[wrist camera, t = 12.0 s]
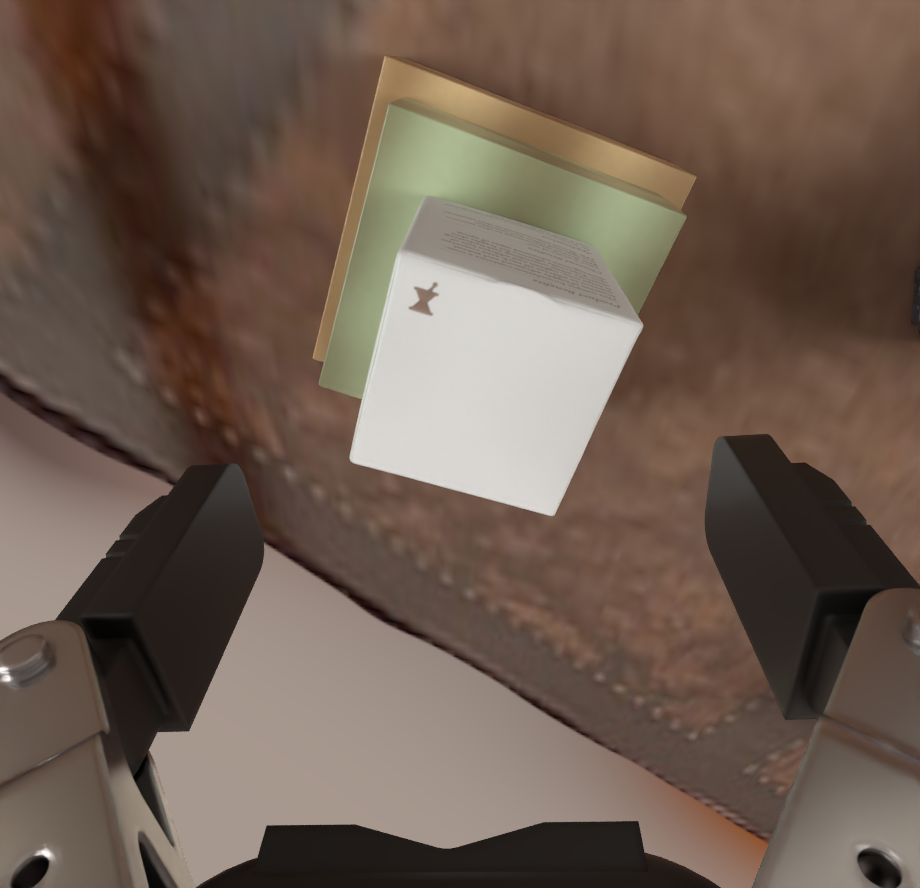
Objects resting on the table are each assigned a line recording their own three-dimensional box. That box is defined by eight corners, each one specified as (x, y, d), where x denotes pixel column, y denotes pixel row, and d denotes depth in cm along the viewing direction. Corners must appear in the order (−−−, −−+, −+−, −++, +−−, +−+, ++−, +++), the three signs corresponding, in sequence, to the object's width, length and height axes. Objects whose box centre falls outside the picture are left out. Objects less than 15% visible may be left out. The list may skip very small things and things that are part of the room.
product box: (381, 357, 24) (340, 464, 17) (424, 187, 21) (394, 243, 14) (539, 403, 24) (555, 523, 18) (604, 246, 21) (651, 323, 15)
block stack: (331, 327, 32) (286, 400, 25) (398, 55, 26) (364, 52, 19) (559, 402, 33) (576, 491, 26) (672, 162, 27) (732, 195, 20)
